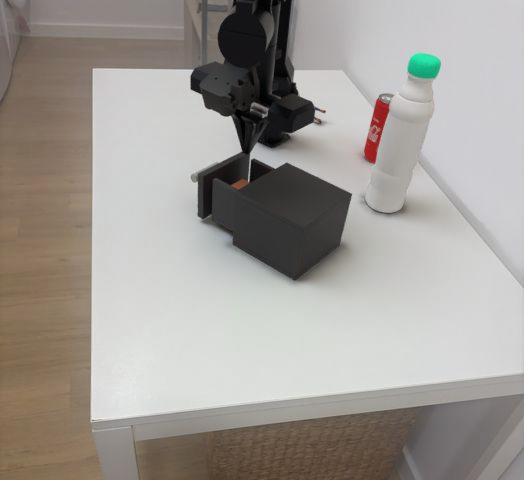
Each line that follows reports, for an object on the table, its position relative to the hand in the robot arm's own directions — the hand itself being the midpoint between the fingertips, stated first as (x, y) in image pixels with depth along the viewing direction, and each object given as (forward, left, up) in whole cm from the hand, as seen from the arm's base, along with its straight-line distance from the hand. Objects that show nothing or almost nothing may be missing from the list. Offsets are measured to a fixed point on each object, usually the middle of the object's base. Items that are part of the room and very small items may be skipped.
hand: (246, 153), depth 80 cm
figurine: (-40, -19, -12) cm, 46 cm away
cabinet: (0, +10, -12) cm, 15 cm away
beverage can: (-37, +5, -12) cm, 39 cm away
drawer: (0, -1, -11) cm, 11 cm away
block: (0, 0, -10) cm, 10 cm away
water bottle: (-23, +15, -12) cm, 30 cm away
